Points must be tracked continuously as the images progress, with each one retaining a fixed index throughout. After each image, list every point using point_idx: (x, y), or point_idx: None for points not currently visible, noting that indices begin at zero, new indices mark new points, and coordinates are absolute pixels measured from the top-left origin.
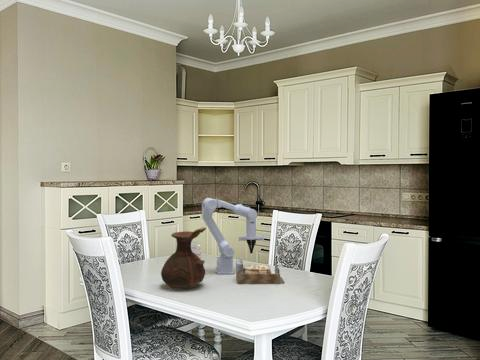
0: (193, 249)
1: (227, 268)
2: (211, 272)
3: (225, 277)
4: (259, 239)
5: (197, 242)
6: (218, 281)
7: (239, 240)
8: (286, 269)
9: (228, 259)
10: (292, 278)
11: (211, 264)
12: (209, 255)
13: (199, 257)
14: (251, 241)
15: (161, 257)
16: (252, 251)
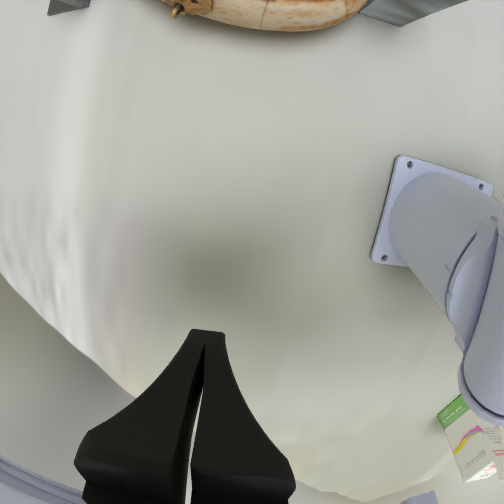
0: (496, 446)
1: (458, 182)
2: None
3: (464, 74)
4: (23, 480)
5: (499, 475)
6: (501, 3)
7: (426, 498)
8: (4, 251)
9: (500, 208)
10: (5, 9)
11: (408, 406)
12: (341, 492)
13: (463, 425)
14: (179, 500)
15: None
16: (188, 342)
